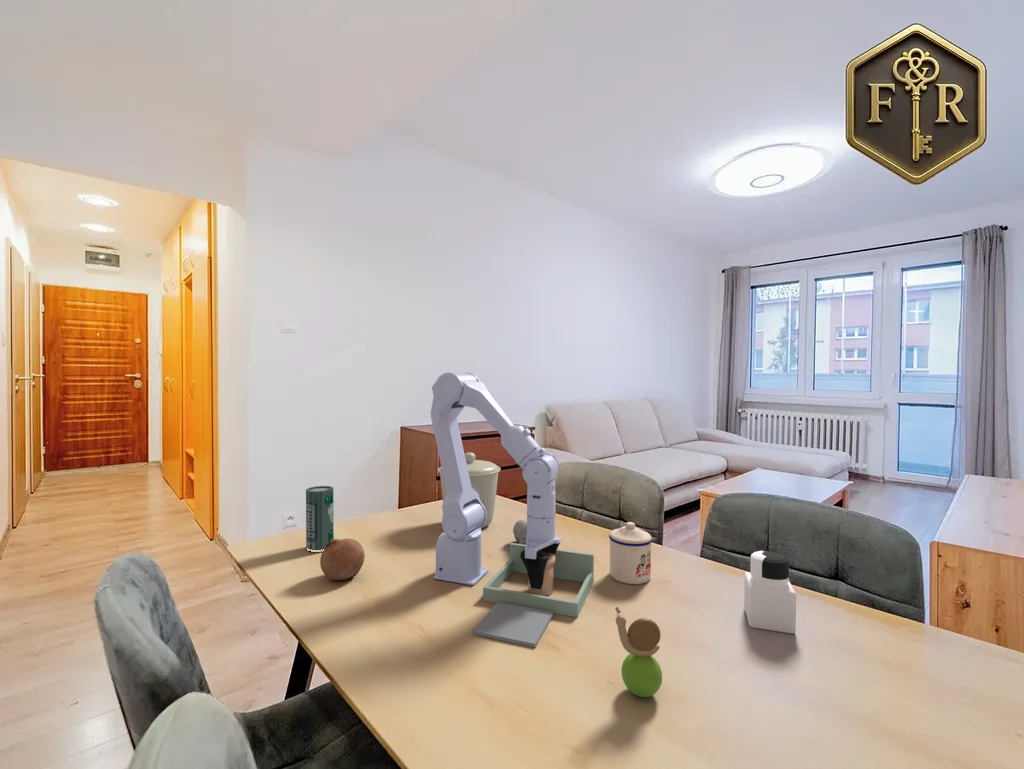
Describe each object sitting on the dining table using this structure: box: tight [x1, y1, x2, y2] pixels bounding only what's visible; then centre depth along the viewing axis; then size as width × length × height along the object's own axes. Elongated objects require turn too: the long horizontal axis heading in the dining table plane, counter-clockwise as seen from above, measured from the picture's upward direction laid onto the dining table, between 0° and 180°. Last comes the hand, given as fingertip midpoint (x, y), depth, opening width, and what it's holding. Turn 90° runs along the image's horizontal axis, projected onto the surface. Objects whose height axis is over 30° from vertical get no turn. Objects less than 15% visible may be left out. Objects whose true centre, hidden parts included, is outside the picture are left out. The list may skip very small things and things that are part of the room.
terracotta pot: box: [527, 551, 555, 597], centre depth 97 cm, size 6×6×7 cm
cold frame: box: [482, 542, 595, 619], centre depth 97 cm, size 19×16×6 cm
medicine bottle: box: [743, 550, 797, 635], centre depth 85 cm, size 7×7×12 cm
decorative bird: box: [512, 519, 527, 545], centre depth 118 cm, size 6×17×8 cm, turn 22°
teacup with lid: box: [608, 521, 653, 585], centre depth 105 cm, size 12×9×12 cm
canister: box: [437, 451, 501, 529], centre depth 138 cm, size 18×18×21 cm
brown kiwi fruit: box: [319, 537, 366, 582], centre depth 103 cm, size 9×9×10 cm
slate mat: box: [472, 602, 555, 648], centre depth 84 cm, size 11×11×1 cm
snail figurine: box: [615, 606, 663, 698], centre depth 66 cm, size 5×6×12 cm
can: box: [305, 485, 335, 550], centre depth 120 cm, size 6×6×15 cm
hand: (540, 581), depth 97 cm, fingers closed on terracotta pot, 6 cm apart
